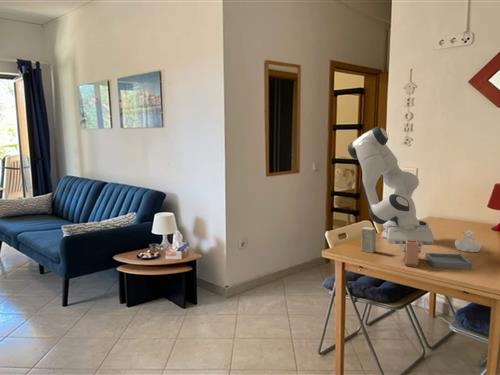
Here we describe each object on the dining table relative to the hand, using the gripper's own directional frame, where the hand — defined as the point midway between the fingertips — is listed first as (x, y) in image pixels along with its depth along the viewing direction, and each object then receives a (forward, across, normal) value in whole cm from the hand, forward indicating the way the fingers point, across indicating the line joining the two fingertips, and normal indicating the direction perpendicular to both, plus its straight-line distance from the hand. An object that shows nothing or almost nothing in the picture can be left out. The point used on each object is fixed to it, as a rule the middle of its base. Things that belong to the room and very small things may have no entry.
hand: (411, 251), depth 183 cm
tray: (+1, +17, +8) cm, 19 cm away
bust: (-16, +33, +25) cm, 44 cm away
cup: (+4, 0, +5) cm, 6 cm away
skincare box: (-10, -17, +19) cm, 28 cm away
